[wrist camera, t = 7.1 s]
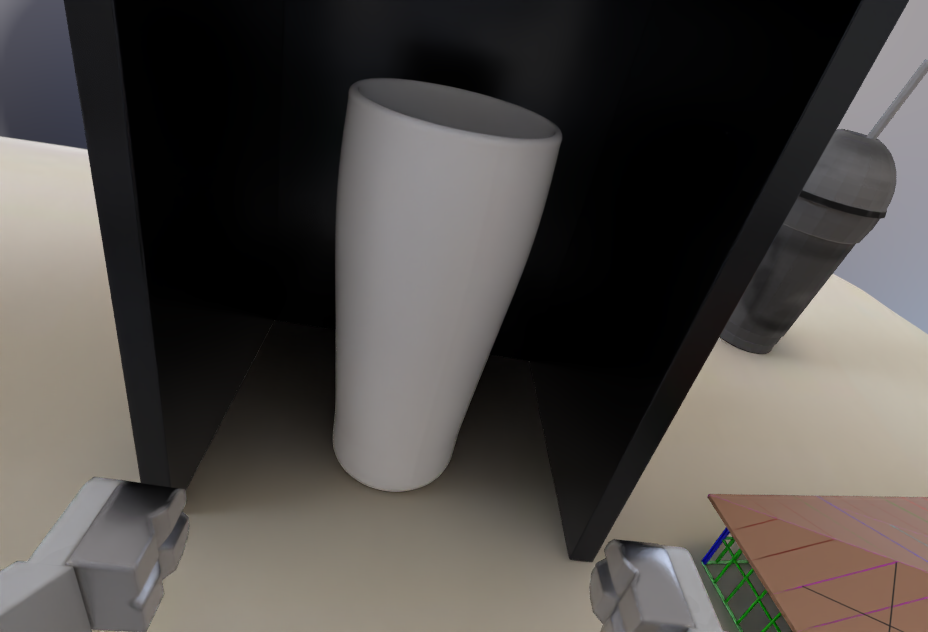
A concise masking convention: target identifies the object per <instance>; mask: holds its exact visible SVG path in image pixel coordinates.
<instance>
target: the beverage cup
mask: <svg viewBox="0 0 928 632" xmlns="http://www.w3.org/2000/svg"><path fill="white" fill-rule="evenodd" d="M927 71H928V60H924V62H923V63H922V64H921V65H920V67H919V68H918V69H917V71H916V72H915V74H914V75H913V76H912V77H911V79H910V80H909V81H908V83H907V84H906V85H905V87H904V88H903V89H902V91H901V92H900V93H899V95H898V96H897V97H896V98H895V100H894V101H893V102H892V104H891V105H890V106H889V108H888V109H887V110H886V112H885V113H884V114H883V116H882V117H881V118H880V120H879V121H878V122H877V124H876V125H875V126H874V128H873V129H872V130H871V132H870V133H869V134H868V135H864V134H860V133H857V132H853V131H849V130H845V129H838V130H836V131H835V133H834V134H833V136H832V138H831V140H830V142H829V143H828V145H827V147H826V149H825V150H824V152H823V154H822V156H821V157H820V159H819V161H818V163H817V165H816V166H815V168H814V170H813V172H812V173H811V175H810V177H809V179H808V181H807V182H806V184H805V186H804V188H803V189H802V191H801V193H800V195H799V196H798V198H797V200H796V202H795V204H794V205H793V207H792V209H791V211H790V212H789V214H788V216H787V218H786V220H785V221H784V223H783V225H782V227H781V228H780V230H779V232H778V234H777V236H776V237H775V239H774V241H773V243H772V244H771V246H770V248H769V250H768V251H767V253H766V255H765V257H764V259H763V260H762V262H761V264H760V266H759V267H758V269H757V271H756V273H755V275H754V276H753V278H752V280H751V282H750V283H749V285H748V287H747V289H746V291H745V292H744V294H743V296H742V298H741V299H740V301H739V303H738V305H737V306H736V308H735V310H734V312H733V314H732V315H731V317H730V319H729V321H728V322H727V324H726V326H725V328H724V330H723V331H722V333H721V335H720V337H721V338H722V339H724V340H725V341H727V342H729V343H730V344H732V345H734V346H736V347H738V348H740V349H743V350H746V351H749V352H754V353H768V352H770V351H771V349H772V348H773V346H774V345H775V344H776V343H777V342H778V341H779V340H780V338H781V337H782V336H784V335H785V334H786V332H787V331H788V330H789V328H790V327H791V326H792V325H793V323H794V322H795V321H796V320H797V318H798V317H799V316H800V314H801V313H802V312H803V311H804V309H805V308H806V307H807V305H808V304H809V303H810V302H811V300H812V299H813V298H814V297H815V295H816V294H817V293H818V291H819V290H820V289H821V288H822V286H823V285H824V284H825V283H826V281H827V280H828V279H829V277H830V276H831V275H832V274H833V272H834V271H835V270H836V269H837V267H838V266H839V265H840V263H841V262H842V261H843V260H844V258H845V257H846V256H847V254H848V253H849V252H850V251H851V249H852V248H853V247H854V245H855V244H856V243H859V242H860V241H861V240H862V239H863V238H864V237H865V236H866V235H867V234H868V233H869V232H870V231H871V230H872V229H873V228H874V226H875V225H876V224H877V222H878V221H879V219H880V218H884V217H885V215H886V212H887V207H888V206H889V204H890V202H891V200H892V197H893V194H894V191H895V186H896V168H895V163H894V160H893V157H892V155H891V153H890V152H889V150H888V149H887V147H886V146H885V145H884V144H883V143H882V142H881V141H880V140H878V139H876V138H877V137H878V136H879V134H880V133H881V132H882V131H883V129H884V128H885V127H886V125H887V124H888V123H889V121H890V120H891V119H892V118H893V116H894V115H895V114H896V112H897V111H898V110H899V108H900V107H901V106H902V104H903V103H904V102H905V100H906V99H907V98H908V97H909V95H910V94H911V93H912V91H913V90H914V89H915V87H916V86H917V85H918V83H919V82H920V81H921V80H922V78H923V76H925V74H926V73H927Z"/></svg>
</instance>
